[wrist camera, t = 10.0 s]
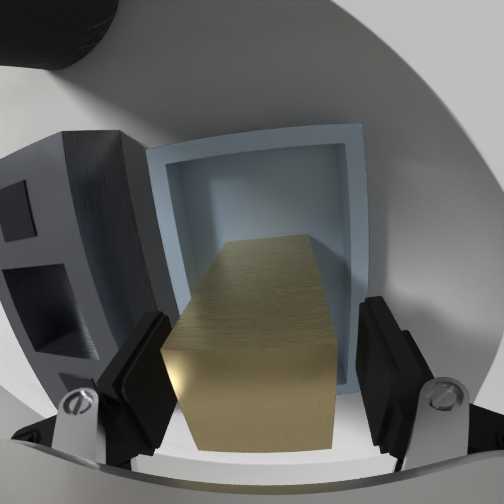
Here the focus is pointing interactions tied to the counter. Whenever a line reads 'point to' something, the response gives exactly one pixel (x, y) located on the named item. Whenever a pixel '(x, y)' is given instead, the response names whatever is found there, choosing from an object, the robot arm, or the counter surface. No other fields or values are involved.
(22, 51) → the travel mug
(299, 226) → the parts tray
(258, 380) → the brushed brass bar
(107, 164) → the grey slotted block
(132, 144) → the counter surface
